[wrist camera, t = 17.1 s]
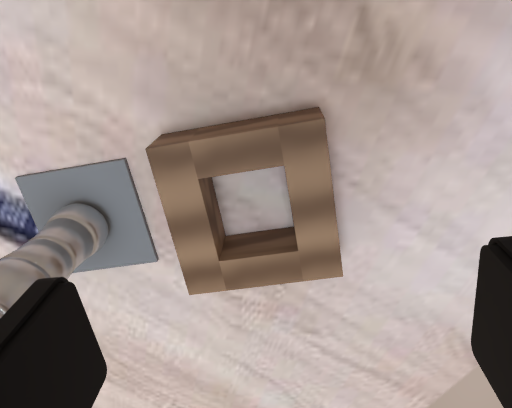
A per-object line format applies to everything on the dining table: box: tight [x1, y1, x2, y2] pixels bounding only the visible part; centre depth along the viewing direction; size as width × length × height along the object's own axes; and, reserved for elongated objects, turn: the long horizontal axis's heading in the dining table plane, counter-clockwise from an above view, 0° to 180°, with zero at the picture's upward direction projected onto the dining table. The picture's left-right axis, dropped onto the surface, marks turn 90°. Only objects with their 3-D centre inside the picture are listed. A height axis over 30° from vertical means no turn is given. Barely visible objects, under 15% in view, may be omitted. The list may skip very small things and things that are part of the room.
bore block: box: [146, 107, 343, 295], centre depth 46 cm, size 18×18×6 cm
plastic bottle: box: [0, 203, 108, 318], centre depth 41 cm, size 6×7×20 cm
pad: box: [15, 158, 158, 273], centre depth 51 cm, size 14×14×1 cm
